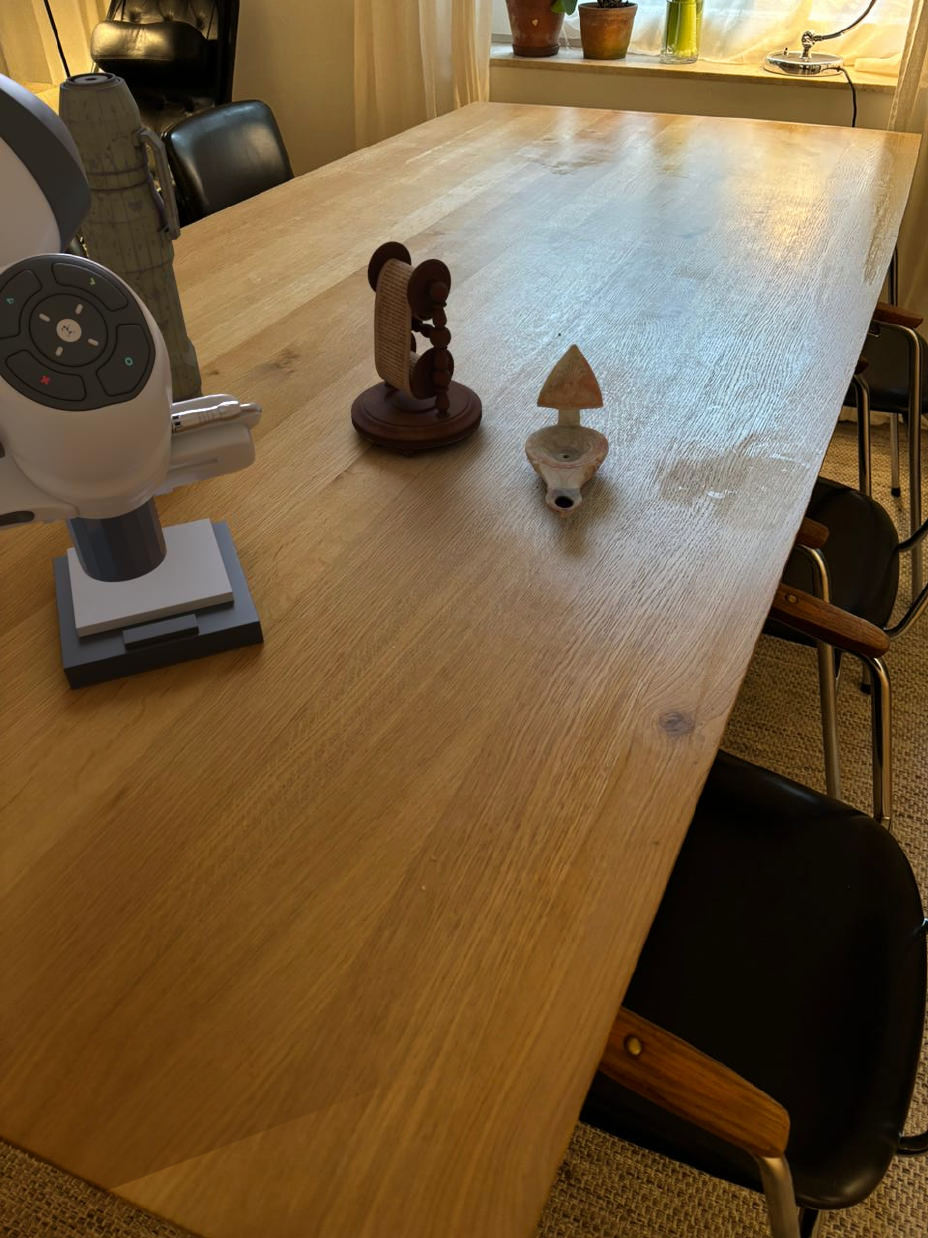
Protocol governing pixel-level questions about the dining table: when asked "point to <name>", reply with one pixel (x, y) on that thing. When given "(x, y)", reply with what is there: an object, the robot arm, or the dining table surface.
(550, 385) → the oil lamp
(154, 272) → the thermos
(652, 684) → the dining table surface
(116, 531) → the cup
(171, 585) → the scale
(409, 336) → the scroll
